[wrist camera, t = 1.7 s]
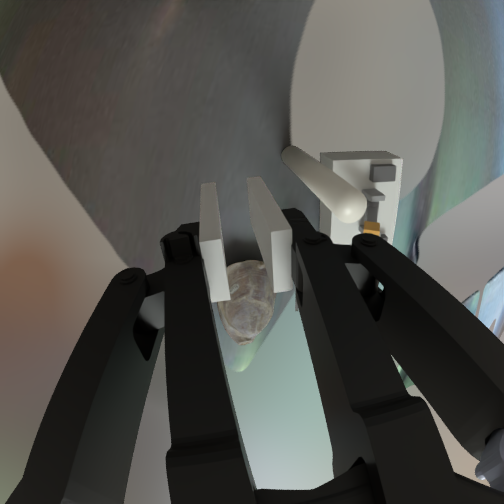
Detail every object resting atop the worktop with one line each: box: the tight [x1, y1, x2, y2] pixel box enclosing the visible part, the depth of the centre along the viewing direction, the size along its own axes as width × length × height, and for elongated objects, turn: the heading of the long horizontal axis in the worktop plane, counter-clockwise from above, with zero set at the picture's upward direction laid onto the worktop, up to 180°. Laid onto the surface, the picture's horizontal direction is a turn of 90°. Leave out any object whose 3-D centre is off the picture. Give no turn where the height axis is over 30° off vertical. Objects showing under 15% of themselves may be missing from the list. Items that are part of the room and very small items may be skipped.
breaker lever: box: [363, 199, 380, 236], centre depth 38 cm, size 4×2×10 cm, turn 5°
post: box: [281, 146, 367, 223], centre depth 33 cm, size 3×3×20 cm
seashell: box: [217, 260, 276, 345], centre depth 50 cm, size 9×12×15 cm
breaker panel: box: [319, 151, 403, 245], centre depth 43 cm, size 16×12×8 cm
